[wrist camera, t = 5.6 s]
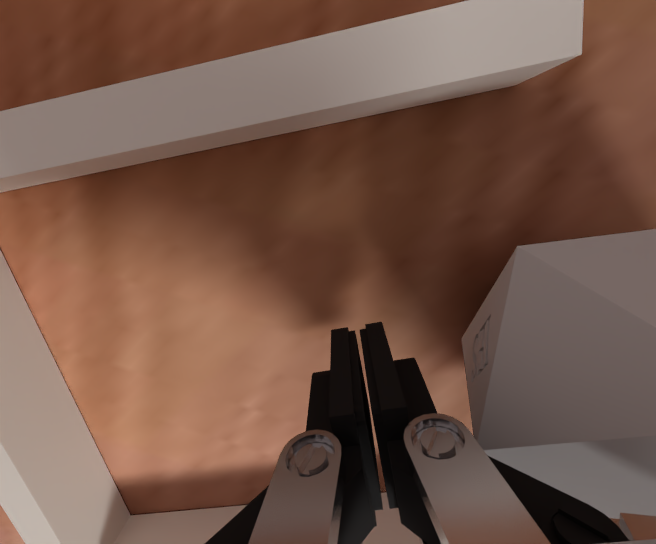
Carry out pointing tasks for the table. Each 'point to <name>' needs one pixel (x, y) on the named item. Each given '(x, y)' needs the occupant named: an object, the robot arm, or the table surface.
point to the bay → (202, 134)
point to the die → (572, 369)
